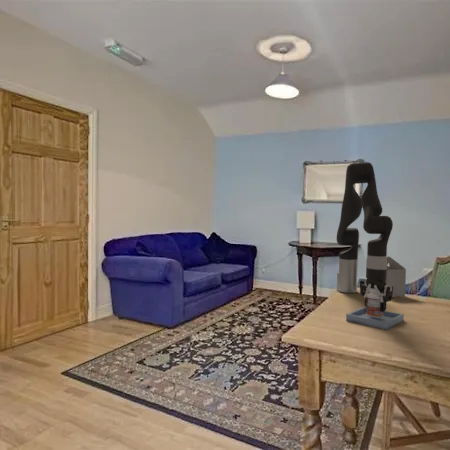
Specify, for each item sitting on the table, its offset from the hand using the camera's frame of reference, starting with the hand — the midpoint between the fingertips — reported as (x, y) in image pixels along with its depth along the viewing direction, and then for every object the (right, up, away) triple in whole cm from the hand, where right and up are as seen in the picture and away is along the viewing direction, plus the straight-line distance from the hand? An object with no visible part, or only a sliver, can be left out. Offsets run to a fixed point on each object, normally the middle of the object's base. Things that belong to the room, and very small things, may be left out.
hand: (375, 309), depth 152 cm
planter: (+22, -3, +43) cm, 48 cm away
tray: (0, -4, 0) cm, 4 cm away
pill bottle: (0, -3, 0) cm, 3 cm away
